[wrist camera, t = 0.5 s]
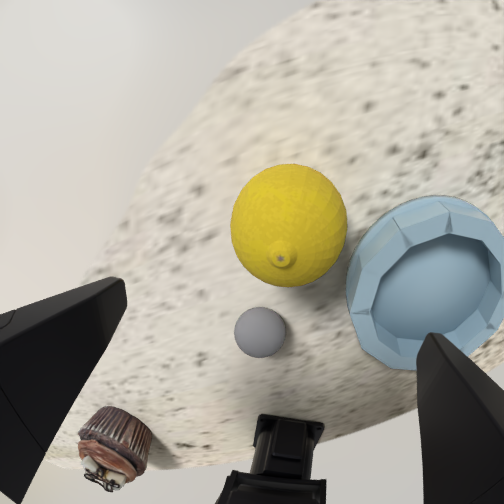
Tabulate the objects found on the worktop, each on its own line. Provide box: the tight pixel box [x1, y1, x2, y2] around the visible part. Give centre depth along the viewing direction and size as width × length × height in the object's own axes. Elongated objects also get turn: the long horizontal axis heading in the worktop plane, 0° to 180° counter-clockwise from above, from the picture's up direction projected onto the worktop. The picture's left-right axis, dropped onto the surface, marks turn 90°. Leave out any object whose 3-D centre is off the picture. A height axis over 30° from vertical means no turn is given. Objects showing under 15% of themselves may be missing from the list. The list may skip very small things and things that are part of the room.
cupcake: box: [78, 406, 152, 492], centre depth 31 cm, size 10×10×10 cm
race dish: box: [346, 195, 504, 370], centre depth 18 cm, size 12×12×3 cm
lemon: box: [230, 164, 347, 287], centre depth 16 cm, size 6×6×8 cm
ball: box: [234, 307, 286, 358], centre depth 22 cm, size 4×4×4 cm
